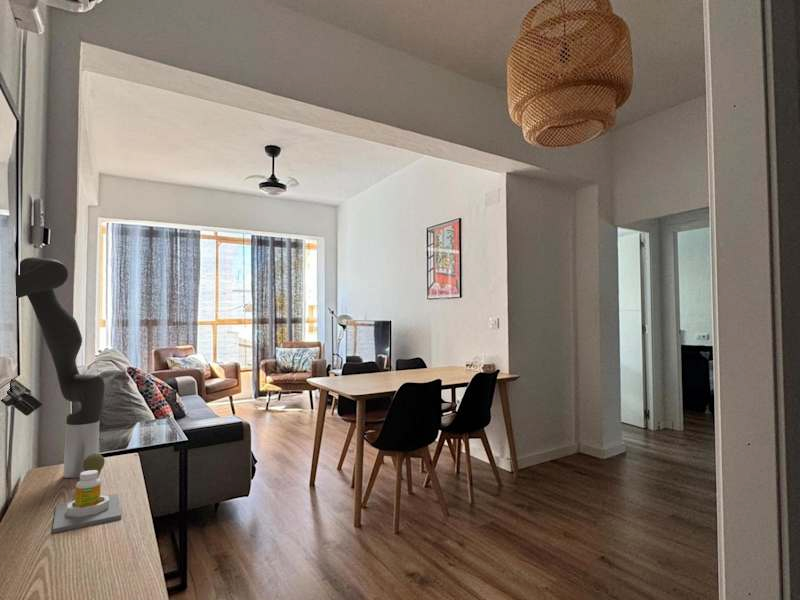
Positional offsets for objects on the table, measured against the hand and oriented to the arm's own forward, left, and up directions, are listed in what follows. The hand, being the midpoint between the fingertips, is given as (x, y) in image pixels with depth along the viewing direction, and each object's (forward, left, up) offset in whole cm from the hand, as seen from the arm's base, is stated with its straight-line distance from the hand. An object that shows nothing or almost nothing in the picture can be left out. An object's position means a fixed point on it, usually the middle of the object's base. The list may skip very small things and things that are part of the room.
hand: (35, 409), depth 114 cm
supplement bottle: (-3, +13, -27) cm, 30 cm away
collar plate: (-3, +13, -28) cm, 31 cm away
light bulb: (-23, +1, -28) cm, 37 cm away
